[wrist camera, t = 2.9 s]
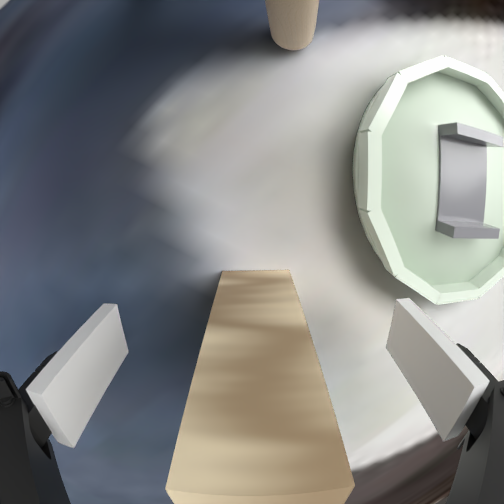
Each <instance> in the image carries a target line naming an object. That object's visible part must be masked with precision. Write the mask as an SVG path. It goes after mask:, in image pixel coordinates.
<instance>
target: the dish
mask: <svg viewBox="0 0 504 504" xmlns="http://www.w3.org/2000/svg"><path fill="white" fill-rule="evenodd" d="M353 188H354V194H355V200H356V206H357V210H358V214H359V217H360V221H361V224H362V226H363V229H364V232H365V234H366V237H367V239H368V240H369V242H370V244H371V246H372V248H373V250H374V251H375V253H376V254H377V256H378V257H379V258H380V260H381V261H382V263H383V265H384V267H385V269H386V270H387V271H388V272H389V273H390V274H392V275H393V276H394V277H395V278H397V279H398V280H400V281H401V282H403V283H404V284H406V285H407V286H409V287H410V288H412V289H413V290H415V291H416V292H418V293H419V294H421V295H422V296H424V297H425V298H427V299H428V300H430V301H431V302H432V303H434V304H435V305H436V304H437V305H441V304H448V303H455V302H462V301H468V300H475V299H478V298H480V297H481V296H482V295H484V294H485V293H486V292H487V291H488V290H489V289H491V288H492V287H493V286H494V285H495V284H496V283H497V282H498V281H499V280H501V279H502V278H503V277H504V92H503V91H502V90H501V88H500V87H499V86H498V85H497V84H496V82H495V81H494V80H493V79H492V78H491V77H490V75H488V74H487V73H485V72H483V71H481V70H479V69H477V68H474V67H472V66H470V65H467V64H465V63H463V62H460V61H458V60H455V59H453V58H450V57H447V56H443V55H442V56H439V57H437V58H434V59H431V60H428V61H425V62H422V63H419V64H417V65H414V66H411V67H409V68H406V69H404V70H401V71H399V72H397V73H395V74H393V75H392V76H390V77H389V78H387V80H386V82H385V84H384V85H383V86H382V87H381V88H380V89H379V90H378V92H377V93H376V94H375V95H374V97H373V98H372V100H371V101H370V103H369V105H368V106H367V108H366V111H365V113H364V115H363V117H362V119H361V122H360V126H359V129H358V132H357V136H356V142H355V148H354V155H353Z"/></svg>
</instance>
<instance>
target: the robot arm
mask: <svg viewBox="0 0 504 504" xmlns="http://www.w3.org/2000/svg"><path fill="white" fill-rule="evenodd" d="M386 348H387V350H388V351H389V353H390V354H391V356H392V358H393V359H394V361H395V362H396V364H397V365H398V367H399V368H400V370H401V372H402V373H403V375H404V376H405V378H406V379H407V381H408V383H409V384H410V386H411V387H412V389H413V391H414V392H415V394H416V396H417V397H418V399H419V401H420V402H421V404H422V406H423V407H424V409H425V411H426V412H427V414H428V416H429V417H430V419H431V421H432V422H433V424H434V426H435V428H436V429H437V431H438V433H439V435H440V436H441V438H442V440H443V441H446V440H449V439H451V438H454V437H456V436H458V435H459V434H460V432H461V431H462V429H463V428H464V426H465V425H466V426H467V428H468V429H469V431H468V432H467V434H466V435H465V437H464V438H463V440H462V441H461V443H460V444H459V446H458V448H457V449H460V448H461V446H462V445H463V444H464V445H463V449H462V453H461V457H460V461H459V465H458V468H457V472H456V475H455V478H454V482H453V485H452V488H451V491H450V494H449V496H448V499H447V502H446V504H504V380H503V381H499V382H498V381H497V380H496V378H495V377H494V376H493V375H492V374H491V373H490V372H489V371H488V370H487V369H486V368H485V366H484V365H483V364H482V363H480V361H479V360H478V359H477V358H476V357H474V355H473V354H472V353H471V352H470V351H469V350H468V349H467V348H465V347H464V346H462V345H460V344H455V343H454V342H453V341H452V340H451V339H450V338H449V337H448V336H447V334H446V333H445V332H444V331H443V330H442V329H441V328H440V327H439V326H438V325H437V324H436V323H435V322H434V321H433V320H432V319H431V318H429V317H428V316H427V315H426V314H425V313H424V312H423V311H422V310H421V309H420V308H419V307H418V306H417V305H416V304H415V303H414V302H413V301H412V300H411V299H410V298H403V299H396V302H395V307H394V312H393V317H392V322H391V327H390V331H389V336H388V340H387V344H386ZM128 352H129V351H128V347H127V344H126V340H125V336H124V332H123V328H122V324H121V320H120V315H119V311H118V306H117V304H106V303H104V304H103V305H102V306H101V307H100V308H99V309H98V310H97V311H96V312H95V313H94V314H93V315H92V316H91V317H90V318H89V319H88V320H87V321H86V322H85V323H84V324H83V325H82V326H81V327H80V328H79V330H78V331H77V332H76V333H75V334H74V335H73V336H72V337H71V338H70V339H69V340H68V341H67V342H66V344H65V345H64V346H63V347H62V348H61V349H60V350H59V351H58V352H57V351H56V352H54V353H53V354H51V355H50V356H48V357H47V358H46V359H45V360H44V361H43V362H42V363H41V364H40V366H39V367H38V368H37V369H36V370H35V372H33V373H32V374H31V376H30V377H29V378H28V379H27V380H26V381H25V383H24V384H23V385H22V386H21V387H20V388H19V390H18V389H17V387H16V385H15V383H14V381H13V379H12V377H11V375H10V374H9V373H7V372H3V371H2V372H0V504H71V503H70V501H69V498H68V495H67V493H66V490H65V487H64V484H63V481H62V478H61V475H60V472H59V469H58V465H57V462H56V459H55V455H54V451H53V447H52V444H51V442H50V440H49V439H48V438H49V436H50V435H51V433H52V434H53V436H54V437H55V438H56V440H57V441H58V443H61V444H64V445H66V446H69V447H72V448H74V447H75V445H76V443H77V441H78V440H79V438H80V436H81V434H82V432H83V430H84V428H85V427H86V425H87V423H88V421H89V419H90V417H91V416H92V414H93V412H94V410H95V409H96V407H97V405H98V403H99V401H100V400H101V398H102V396H103V394H104V393H105V391H106V389H107V387H108V386H109V384H110V382H111V381H112V379H113V377H114V376H115V374H116V372H117V370H118V369H119V367H120V365H121V364H122V362H123V360H124V359H125V357H126V355H127V354H128Z"/></svg>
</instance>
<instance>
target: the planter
mask: <svg viewBox="0 0 504 504" xmlns="http://www.w3.org/2000/svg"><path fill="white" fill-rule="evenodd" d="M265 4H266V9H267V15H268V20H269V26H270V31H271V36H272V38H273V40H274V41H275V42H276V43H277V44H278V45H279V46H280V47H282V48H284V49H288V50H300V49H303V48H305V47H307V46H308V45H309V44H310V43H311V41H312V39H313V35H314V31H315V26H316V20H317V12H318V5H319V0H265Z"/></svg>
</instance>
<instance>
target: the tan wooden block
mask: <svg viewBox="0 0 504 504" xmlns="http://www.w3.org/2000/svg"><path fill="white" fill-rule="evenodd" d="M354 486H355V484H354V481H353V477H352V473H351V469H350V466H349V462H348V458H347V455H346V451H345V448H344V444H343V441H342V437H341V433H340V430H339V427H338V423H337V420H336V416H335V413H334V409H333V406H332V403H331V399H330V396H329V393H328V389H327V386H326V383H325V379H324V376H323V373H322V370H321V366H320V363H319V360H318V357H317V354H316V350H315V347H314V344H313V341H312V338H311V335H310V331H309V328H308V325H307V322H306V319H305V316H304V313H303V310H302V307H301V304H300V301H299V298H298V295H297V292H296V289H295V286H294V283H293V280H292V277H291V274H290V271H289V270H257V271H222V274H221V277H220V281H219V284H218V288H217V291H216V295H215V298H214V302H213V306H212V309H211V313H210V316H209V320H208V324H207V327H206V331H205V334H204V338H203V342H202V345H201V349H200V353H199V357H198V360H197V364H196V368H195V372H194V375H193V379H192V383H191V387H190V391H189V394H188V398H187V402H186V406H185V410H184V414H183V418H182V422H181V426H180V430H179V434H178V438H177V442H176V446H175V450H174V454H173V458H172V463H171V467H170V471H169V475H168V480H167V484H166V488H165V490H166V491H167V493H168V495H169V496H170V498H171V499H172V501H173V503H174V504H344V503H345V501H346V499H347V498H348V496H349V494H350V493H351V491H352V489H353V488H354Z"/></svg>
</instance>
